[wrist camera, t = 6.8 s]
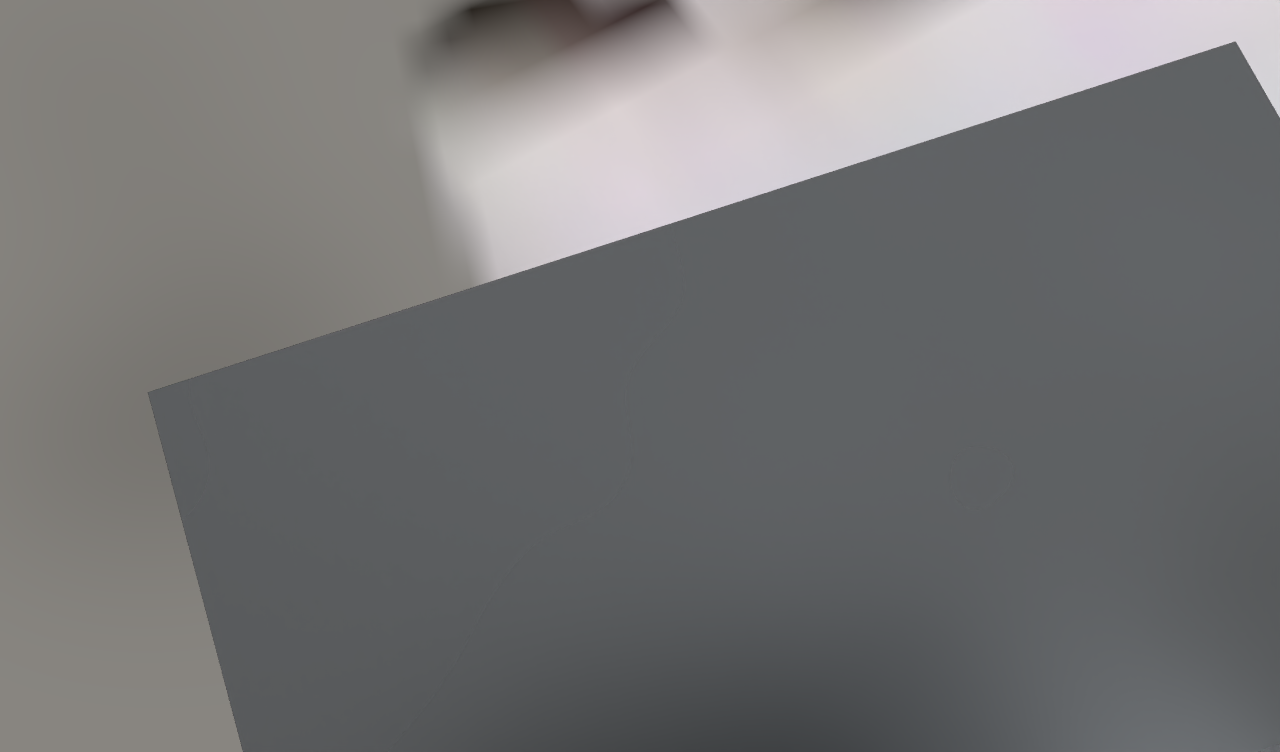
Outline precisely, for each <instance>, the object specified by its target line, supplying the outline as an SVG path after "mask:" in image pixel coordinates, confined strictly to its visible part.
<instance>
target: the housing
mask: <svg viewBox="0 0 1280 752" xmlns="http://www.w3.org/2000/svg"><path fill="white" fill-rule="evenodd" d="M148 395H149V398H150V402H151V406H152V410H153V413H154V417H155V421H156V424H157V428H158V432H159V436H160V440H161V444H162V447H163V451H164V455H165V459H166V463H167V466H168V470H169V474H170V478H171V481H172V485H173V489H174V493H175V497H176V500H177V504H178V508H179V512H180V515H181V519H182V523H183V527H184V530H185V534H186V538H187V542H188V545H189V549H190V553H191V557H192V561H193V565H194V568H195V572H196V576H197V579H198V583H199V587H200V591H201V595H202V599H203V602H204V606H205V610H206V614H207V617H208V621H209V625H210V629H211V632H212V636H213V640H214V643H215V647H216V651H217V655H218V659H219V662H220V666H221V670H222V674H223V678H224V682H225V685H226V689H227V693H228V697H229V700H230V704H231V708H232V711H233V716H234V719H235V723H236V727H237V731H238V734H239V738H240V742H241V746H242V750H243V752H1280V118H1279V116H1278V114H1277V113H1276V111H1275V109H1274V107H1273V106H1272V104H1271V102H1270V100H1269V99H1268V97H1267V95H1266V93H1265V92H1264V90H1263V88H1262V86H1261V85H1260V83H1259V81H1258V80H1257V78H1256V76H1255V74H1254V73H1253V71H1252V69H1251V67H1250V66H1249V64H1248V62H1247V60H1246V59H1245V57H1244V55H1243V54H1242V52H1241V50H1240V48H1239V47H1238V45H1237V43H1236V42H1232V43H1229V44H1226V45H1223V46H1220V47H1217V48H1214V49H1211V50H1208V51H1205V52H1201V53H1198V54H1195V55H1192V56H1189V57H1186V58H1183V59H1180V60H1177V61H1174V62H1170V63H1167V64H1164V65H1161V66H1158V67H1155V68H1152V69H1149V70H1146V71H1143V72H1139V73H1136V74H1133V75H1130V76H1127V77H1124V78H1121V79H1118V80H1115V81H1112V82H1108V83H1105V84H1102V85H1099V86H1096V87H1093V88H1090V89H1087V90H1084V91H1081V92H1077V93H1074V94H1071V95H1068V96H1065V97H1062V98H1059V99H1056V100H1053V101H1050V102H1046V103H1043V104H1040V105H1037V106H1034V107H1031V108H1028V109H1025V110H1022V111H1019V112H1015V113H1012V114H1009V115H1006V116H1003V117H1000V118H997V119H994V120H991V121H988V122H984V123H981V124H978V125H975V126H972V127H969V128H966V129H963V130H960V131H957V132H953V133H950V134H947V135H944V136H941V137H938V138H935V139H932V140H929V141H926V142H922V143H919V144H916V145H913V146H910V147H907V148H904V149H901V150H898V151H895V152H891V153H888V154H885V155H882V156H879V157H876V158H873V159H870V160H867V161H864V162H860V163H857V164H854V165H851V166H848V167H845V168H842V169H839V170H836V171H833V172H829V173H826V174H823V175H820V176H817V177H814V178H811V179H808V180H805V181H802V182H798V183H795V184H792V185H789V186H786V187H783V188H780V189H777V190H774V191H771V192H767V193H764V194H761V195H758V196H755V197H752V198H749V199H746V200H743V201H740V202H736V203H733V204H730V205H727V206H724V207H721V208H718V209H715V210H712V211H709V212H705V213H702V214H699V215H696V216H693V217H690V218H687V219H684V220H681V221H678V222H674V223H671V224H668V225H665V226H662V227H659V228H656V229H653V230H650V231H647V232H643V233H640V234H637V235H634V236H631V237H628V238H625V239H622V240H619V241H616V242H612V243H609V244H606V245H603V246H600V247H597V248H594V249H591V250H588V251H585V252H581V253H578V254H575V255H572V256H569V257H566V258H563V259H560V260H557V261H554V262H550V263H547V264H544V265H541V266H538V267H535V268H532V269H529V270H526V271H523V272H519V273H516V274H513V275H510V276H507V277H504V278H501V279H498V280H495V281H492V282H488V283H485V284H482V285H479V286H476V287H473V288H470V289H467V290H464V291H461V292H457V293H454V294H451V295H448V296H445V297H442V298H439V299H436V300H433V301H430V302H426V303H423V304H420V305H417V306H414V307H411V308H408V309H405V310H402V311H399V312H396V313H392V314H389V315H386V316H383V317H380V318H377V319H374V320H371V321H368V322H365V323H361V324H358V325H355V326H352V327H349V328H346V329H343V330H340V331H337V332H333V333H330V334H328V335H324V336H321V337H318V338H315V339H312V340H309V341H306V342H302V343H299V344H296V345H293V346H290V347H287V348H284V349H281V350H278V351H275V352H272V353H268V354H265V355H262V356H259V357H256V358H253V359H250V360H247V361H244V362H240V363H238V364H235V365H231V366H228V367H225V368H222V369H219V370H216V371H213V372H210V373H207V374H204V375H200V376H197V377H194V378H191V379H188V380H185V381H182V382H178V383H175V384H172V385H169V386H166V387H163V388H160V389H157V390H154V391H151V392H148Z"/></svg>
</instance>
